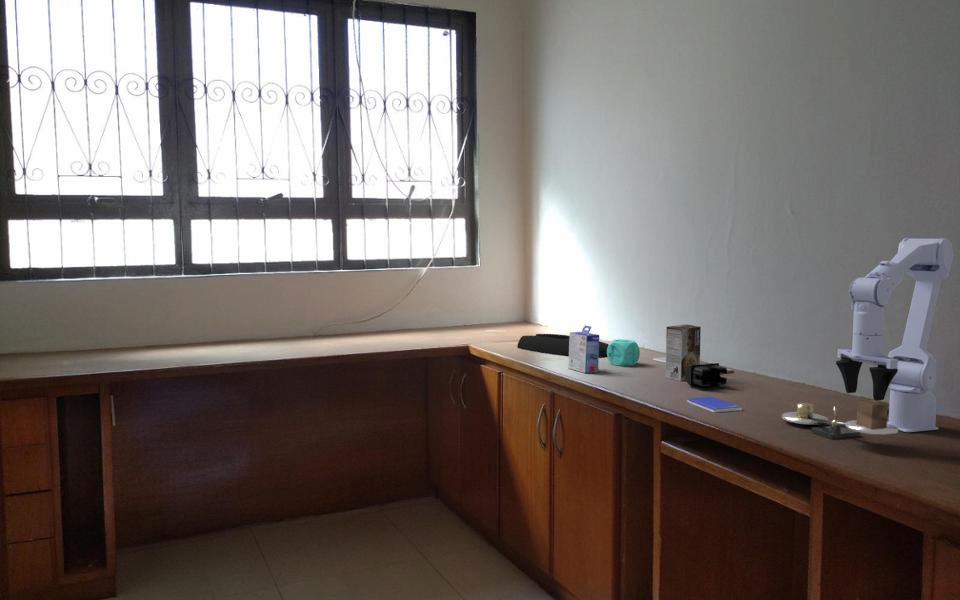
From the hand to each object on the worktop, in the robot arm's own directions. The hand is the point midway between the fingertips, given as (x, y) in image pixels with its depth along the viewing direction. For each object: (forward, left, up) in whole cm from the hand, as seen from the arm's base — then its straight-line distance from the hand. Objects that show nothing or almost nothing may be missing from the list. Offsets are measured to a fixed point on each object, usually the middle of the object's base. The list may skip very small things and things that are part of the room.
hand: (864, 396), depth 164 cm
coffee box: (-1, -73, -10) cm, 74 cm away
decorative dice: (+5, -100, -10) cm, 101 cm away
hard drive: (+12, -38, -11) cm, 41 cm away
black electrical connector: (0, -59, -10) cm, 60 cm away
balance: (+2, -6, -10) cm, 12 cm away
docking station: (+10, -134, -11) cm, 134 cm away
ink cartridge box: (+23, -93, -10) cm, 96 cm away
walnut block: (+2, +4, -5) cm, 7 cm away
